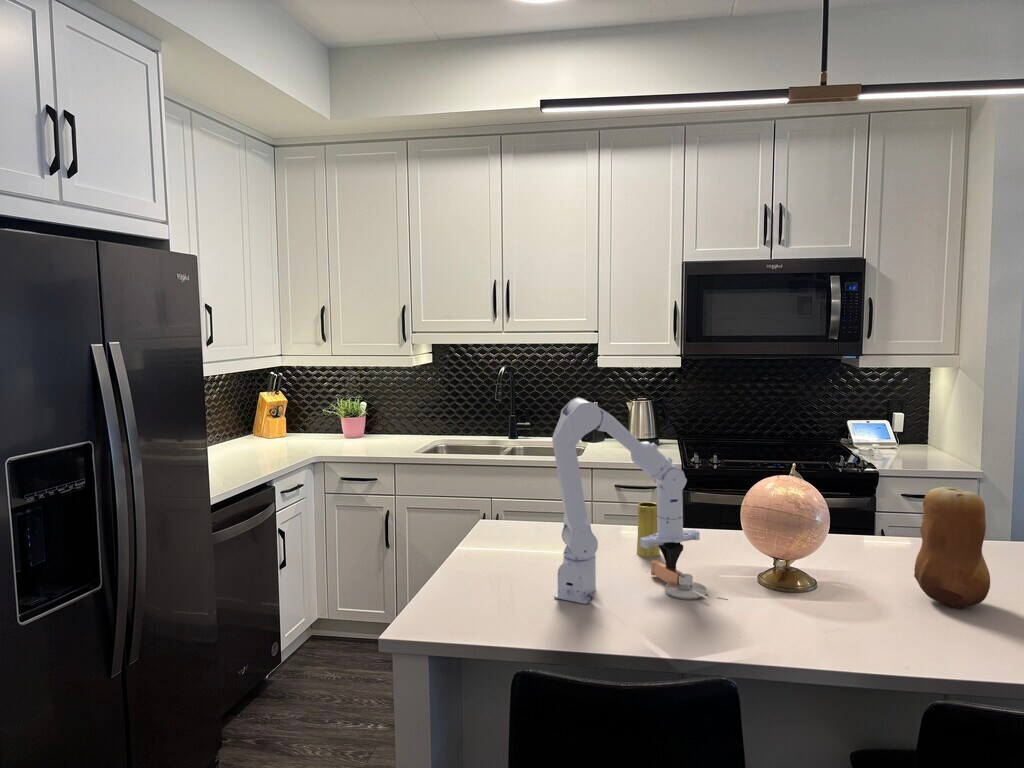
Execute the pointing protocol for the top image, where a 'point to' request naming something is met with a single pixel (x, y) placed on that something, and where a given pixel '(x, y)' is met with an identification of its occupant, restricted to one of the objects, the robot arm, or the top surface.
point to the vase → (647, 528)
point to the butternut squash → (953, 548)
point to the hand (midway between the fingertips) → (670, 573)
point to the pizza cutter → (678, 582)
